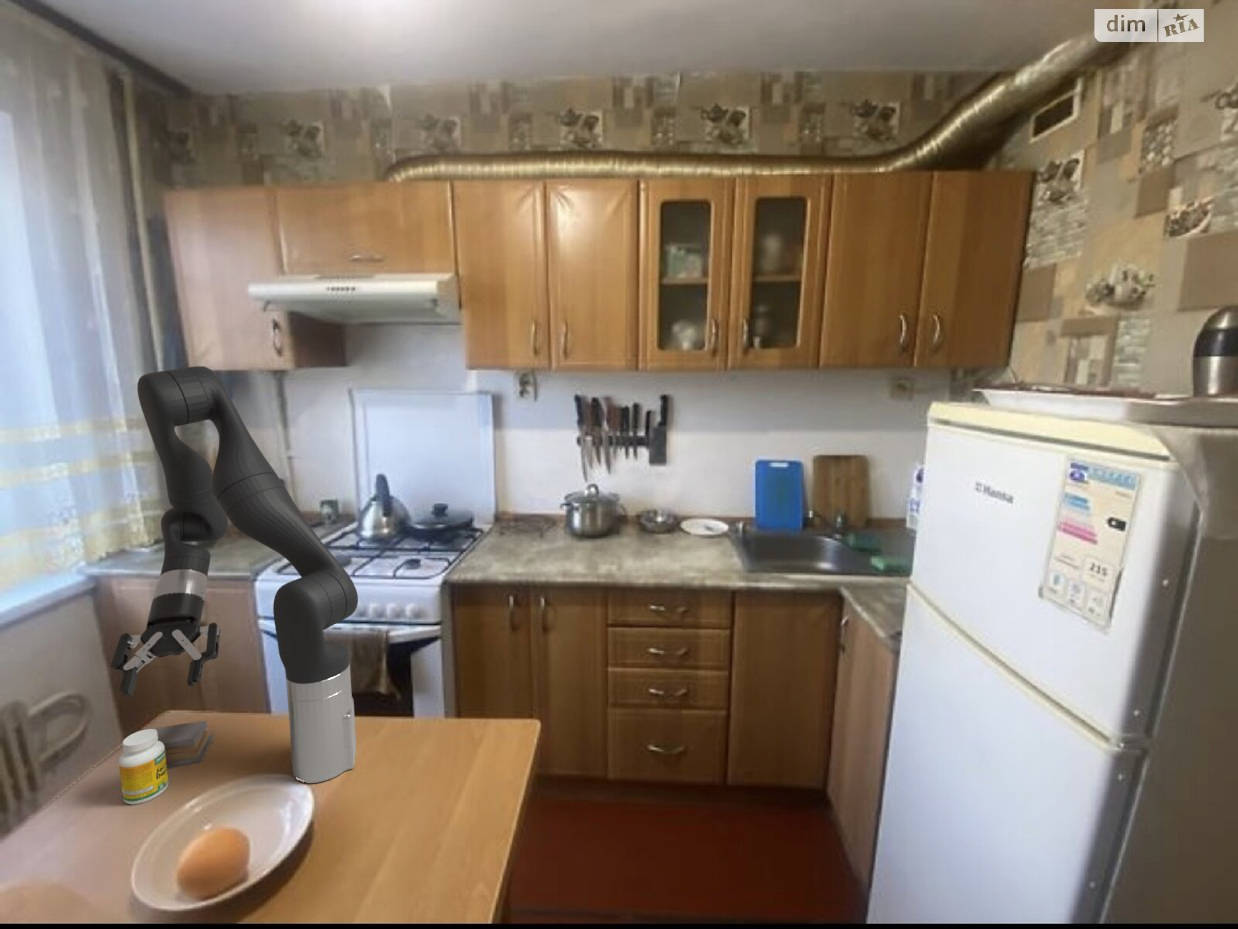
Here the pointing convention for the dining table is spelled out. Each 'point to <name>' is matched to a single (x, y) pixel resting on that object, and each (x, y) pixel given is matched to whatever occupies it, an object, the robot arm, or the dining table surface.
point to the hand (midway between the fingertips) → (160, 690)
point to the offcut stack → (185, 742)
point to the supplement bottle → (143, 767)
